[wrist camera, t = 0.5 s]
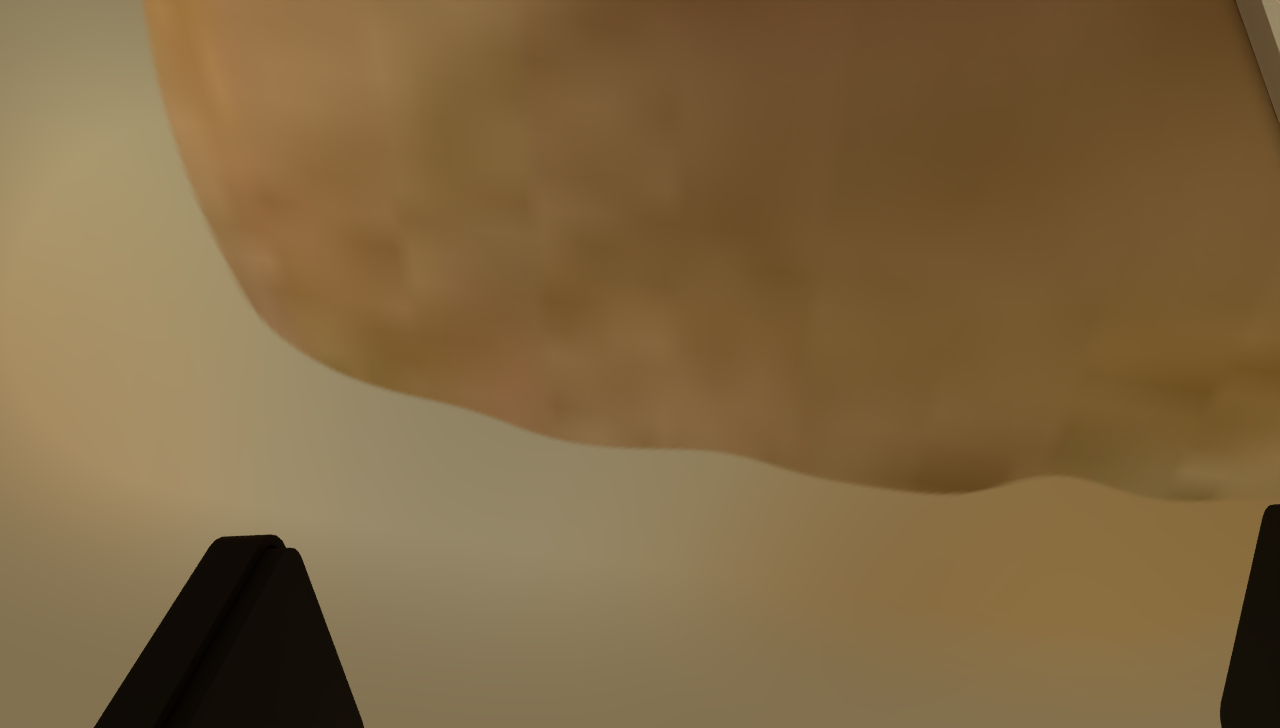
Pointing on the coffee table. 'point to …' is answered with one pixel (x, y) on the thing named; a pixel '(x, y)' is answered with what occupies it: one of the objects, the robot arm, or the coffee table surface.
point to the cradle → (1265, 41)
